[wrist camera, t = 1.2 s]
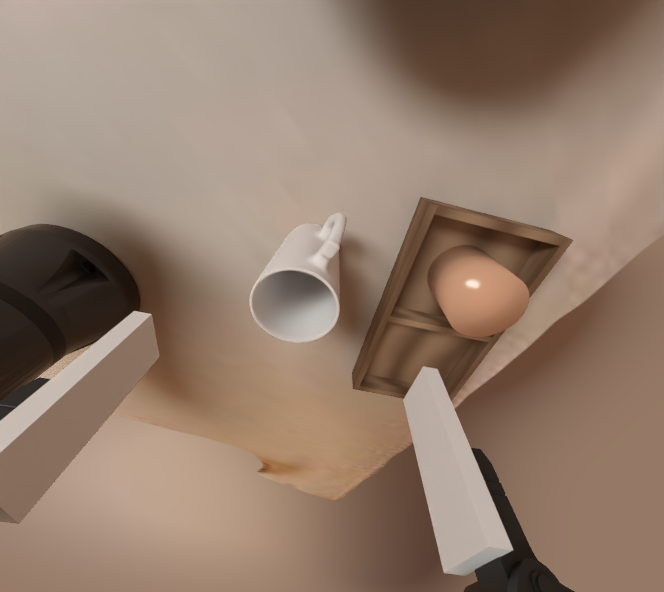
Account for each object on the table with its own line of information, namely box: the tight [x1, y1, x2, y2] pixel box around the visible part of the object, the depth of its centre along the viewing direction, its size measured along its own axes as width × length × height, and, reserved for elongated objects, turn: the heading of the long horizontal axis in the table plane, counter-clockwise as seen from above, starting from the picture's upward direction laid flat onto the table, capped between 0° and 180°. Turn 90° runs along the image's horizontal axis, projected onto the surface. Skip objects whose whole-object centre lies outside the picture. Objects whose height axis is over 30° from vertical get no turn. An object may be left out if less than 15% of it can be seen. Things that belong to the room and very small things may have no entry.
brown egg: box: [427, 245, 529, 337], centre depth 26 cm, size 7×7×7 cm
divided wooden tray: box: [352, 197, 573, 401], centre depth 32 cm, size 15×26×3 cm, turn 167°
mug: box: [250, 213, 346, 343], centre depth 23 cm, size 10×7×12 cm, turn 147°
